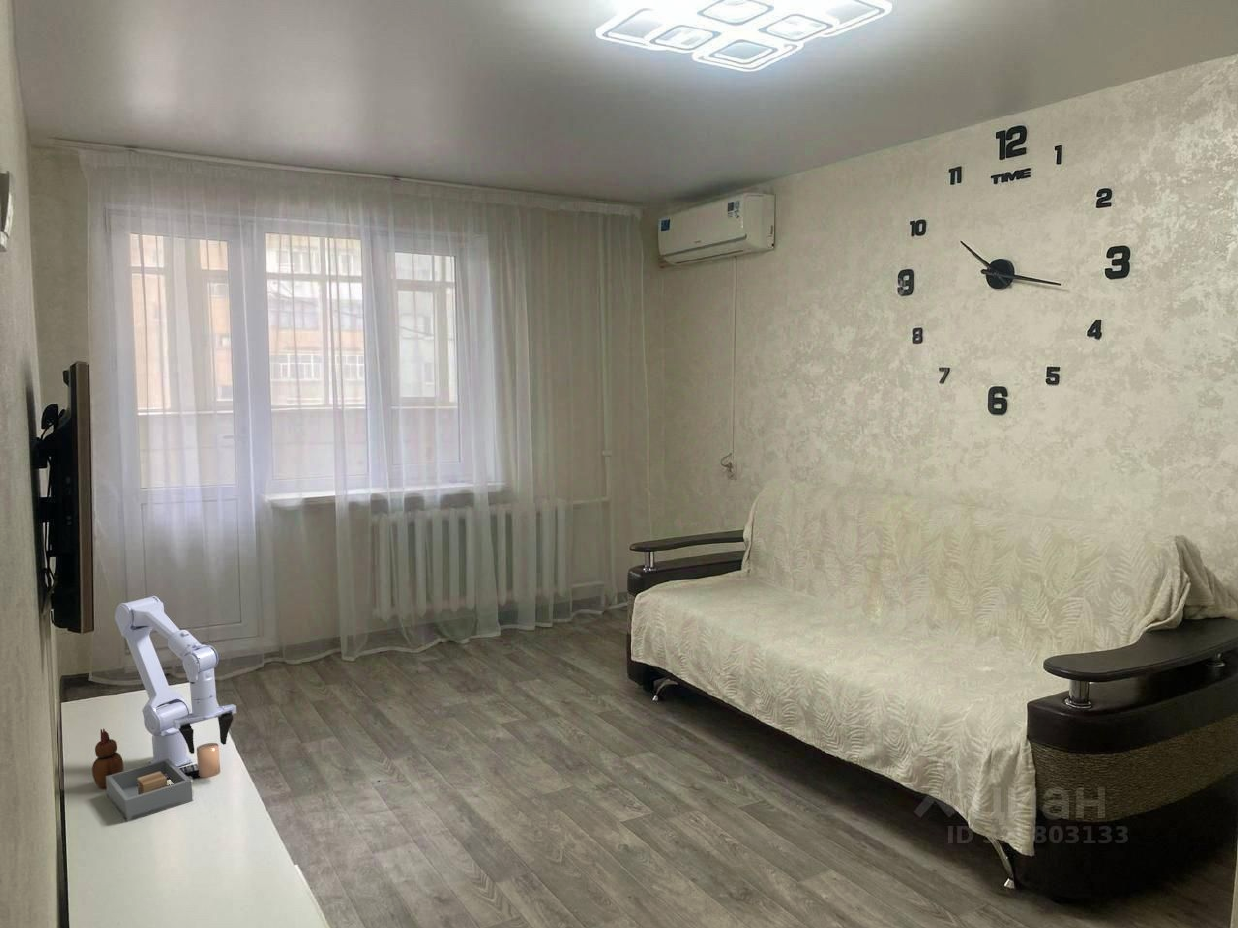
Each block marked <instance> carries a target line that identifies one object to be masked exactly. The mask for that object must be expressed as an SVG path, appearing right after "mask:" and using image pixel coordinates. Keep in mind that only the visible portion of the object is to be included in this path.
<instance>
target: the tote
mask: <svg viewBox="0 0 1238 928" xmlns="http://www.w3.org/2000/svg"><path fill="white" fill-rule="evenodd" d="M178 767H179V766H178ZM178 767H177V766H175V765H174V764H173V763H172V762H171V761H170V760H169V759H165V760H161V761H158V762H154V763H149V764H144V765H141V766H137V767H133V768H130V769H127V770H123V772H119V773H116V774H112V775H109V776H106V786H107V788H106V797H107V798H108V799H109V800H110V802H111V803H112V804H113V805H114V807H115V808H116V809H117V810H118V812H119V813H120V814H121V816H122V817H123V819H124V820H125V821H126V822H127V823H129V822H131V821H135V820H138V819H141V818H144V817H147V816H150V815H153V814H156V813H160V812H163V811H165V810H168V809H171V808H174V807H175V808H176V807H179V806H181V805H184V804H187V803H190V802H193V800H194V799H193V790H192V789H193V788H192V780H191V779H190V778H189V777H188V775H186V774H185V773H184V772H183V771H182V770H181V769H180V768H178ZM156 772H161V773H162V774H163V775H164V774H167V775H168V777H169V778H170V780H171V781H172V782H173V783H174V784H171V785H170V784H169V785H167V786H166V787H163V788H159V789H156V790H153V791H150V792H146V793H143V794H140V795H139V793H138V786H137V785H138V782H137V778H140V777H143V776H146V775H150V774H153V773H156Z"/></svg>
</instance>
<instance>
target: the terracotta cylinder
mask: <svg viewBox="0 0 1238 928" xmlns="http://www.w3.org/2000/svg"><path fill="white" fill-rule="evenodd" d="M219 750H220V748H219V743H216V742H208V743H204V744H200V745H199V746H197V747H196V757H197V769H198V770H197V771H199V772H198V777H199V776H200V777H199V778H201V779H208V778H209V779H210V778H212V777H215V776H218V775H219V774H221V761H220V751H219Z"/></svg>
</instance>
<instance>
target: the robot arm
mask: <svg viewBox="0 0 1238 928" xmlns="http://www.w3.org/2000/svg"><path fill="white" fill-rule="evenodd" d="M114 620H115V622H116V624H117V627H118V630H119V632H120V636H121V637H123V638H125V640H126V644H127V646H128V648H129V651H130V653H131V656H132V658H133V661H134V663H135V666H136V668H137V671H138V673H139V676H140V679H141V681H142V684H143V686H144V689H145V691H146V694H147V696H148V700H147V702H145V703H146V704H145V705H144V706H143V708H142V710H141V712H142V714H143V719H144V721H143V722H144V726H145V730H146V731H147V732H148V733H150V734H151V735H152V736H151V743H152V744H151V745H152V748H151V749H152V757H153V758H151V759H149V764H151V763H154V762H158V761H161V760H165V759H169V760H170V761H171V762H172V763H173V764H174V765H175V766H177V767H181V766H184V765H185V766H186V765H188V764H191V763H193V760H192V759H191V758H190V757H189V756H188V755H187V749H188V753H189V754H191V755H193V754H195V745H194V732H195V731H194V729H193V727H192V725H194V724H197V723H201V722H204V721H209V720H212V719H215V718H217V721H218V727H219V728H218V729H219V740H220V743H221V744H222V745H227V741H228V739H227V738H228V735H229V734H228V733H229V731H230V729H231V725H232V723H233V721H234V714H237V706H236V705H235V704H233V703H231V704H228V705H222V706H218V705H217V692H216V691H217V690H216V681H215V680H216V678H215V669H214V668H216V667H217V666H218V664H219V655H218V652H217V649H215V648H214V647H213V646H212V645H209V644H208V645H206V644H202V643H201V642H199V641H198V640H197V639H196V637H195V636H193V634H191V633H190V632H189V631H188V630H186V629H179V628H178V626H177V625H176V624H175V623H174V621H172V619H170V617H169V616H168V615H167V614H166V613H165V607H164V602H162V601H161V600H160V599H159V597H158V596H156V595H151V596H149V597H145V598H140V599H137V600H133V601H128V602H121V603H120V604H118V606H117V607H116V610H115V615H114ZM153 630H155V631H156V632H157V633H158V634H159V635H161V636H162V637H164V638H165V639H167V648H169V650H170V651H172V652H173V653H174V654H175V655H176V657H178V658H179V659H180V660H181V661H182V667H183V670H184V671H185V674H186V679H187V681H189V690H190V691H189V692H190V701H191V707H190V705H189V703H188V702H186V700H185V699H184V697H183V694H182V693H180V692H177V691H174V690H172V689H171V688H170V685H169V682H168V680H167V678H166V675H165V673H164V671H163V668H162V665H161V662H160V660H159V657H158V655H157V652H156V649H155V648H154V645H153V642H152V640H151V637H150V634H151V631H153ZM186 746H187V747H186Z"/></svg>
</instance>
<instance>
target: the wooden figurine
mask: <svg viewBox="0 0 1238 928" xmlns="http://www.w3.org/2000/svg"><path fill="white" fill-rule="evenodd" d="M117 751H118V743H117V741H116V740H115V739H112V738H111V739H110V734H109V732H107V730H106V729H105V728H100V741H98V742H97V743H96V745H95V747H94V752H95V756H96V757H97V758H95V760H94V761H93V763H92V766H91V774H92V778H93V781H94V782H95V784H96V785H97V786H98V787H99V788H102V789H105V788H106V789H107V786H106V776H109V775H112V774H116V773H119V772H123V771H124V763H123V757H122V755H121V754H120V753H118V752H117Z"/></svg>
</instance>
